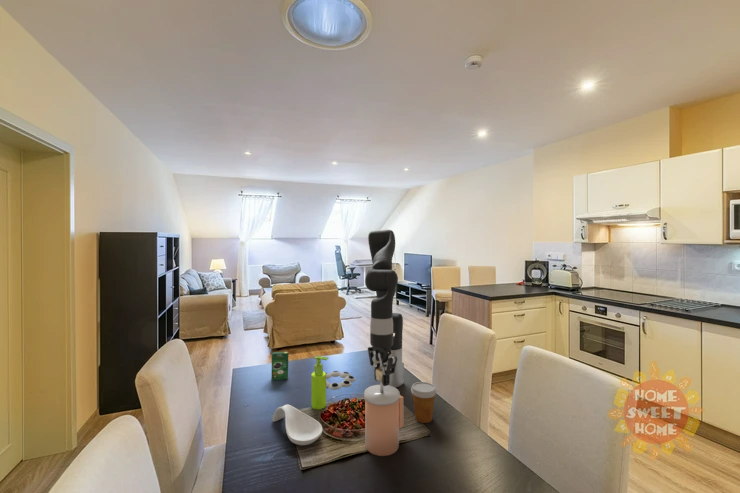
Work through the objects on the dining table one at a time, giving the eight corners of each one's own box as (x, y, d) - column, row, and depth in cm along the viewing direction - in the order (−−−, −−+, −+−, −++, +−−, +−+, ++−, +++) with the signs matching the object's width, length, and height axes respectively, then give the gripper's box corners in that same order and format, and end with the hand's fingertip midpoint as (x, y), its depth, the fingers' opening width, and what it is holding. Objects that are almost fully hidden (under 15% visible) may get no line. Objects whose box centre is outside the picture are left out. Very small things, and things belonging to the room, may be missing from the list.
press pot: (391, 427, 112) (391, 380, 112) (412, 445, 102) (412, 393, 102) (357, 441, 105) (357, 390, 104) (377, 461, 95) (377, 405, 95)
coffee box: (288, 377, 155) (288, 350, 155) (288, 379, 152) (288, 352, 152) (271, 378, 153) (271, 352, 153) (271, 381, 151) (271, 354, 151)
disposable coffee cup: (437, 414, 121) (437, 383, 121) (434, 427, 112) (434, 394, 112) (413, 409, 124) (413, 379, 124) (408, 422, 115) (408, 390, 115)
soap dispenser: (325, 410, 124) (325, 360, 124) (309, 408, 125) (308, 359, 125) (330, 403, 130) (330, 355, 130) (314, 401, 131) (314, 353, 131)
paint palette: (306, 382, 150) (306, 378, 150) (336, 369, 165) (336, 366, 165) (334, 395, 138) (334, 390, 138) (363, 380, 153) (363, 376, 152)
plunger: (383, 388, 106) (383, 366, 105) (390, 392, 102) (390, 370, 102) (373, 391, 103) (373, 368, 103) (380, 396, 100) (380, 373, 100)
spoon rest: (329, 439, 106) (329, 418, 106) (300, 457, 97) (299, 434, 97) (290, 413, 122) (290, 395, 122) (262, 426, 114) (262, 407, 114)
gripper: (404, 333, 99) (404, 388, 99) (378, 324, 111) (378, 372, 111) (385, 337, 95) (385, 394, 95) (360, 327, 107) (360, 377, 107)
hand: (381, 382), depth 103 cm, fingers closed on plunger, 4 cm apart
